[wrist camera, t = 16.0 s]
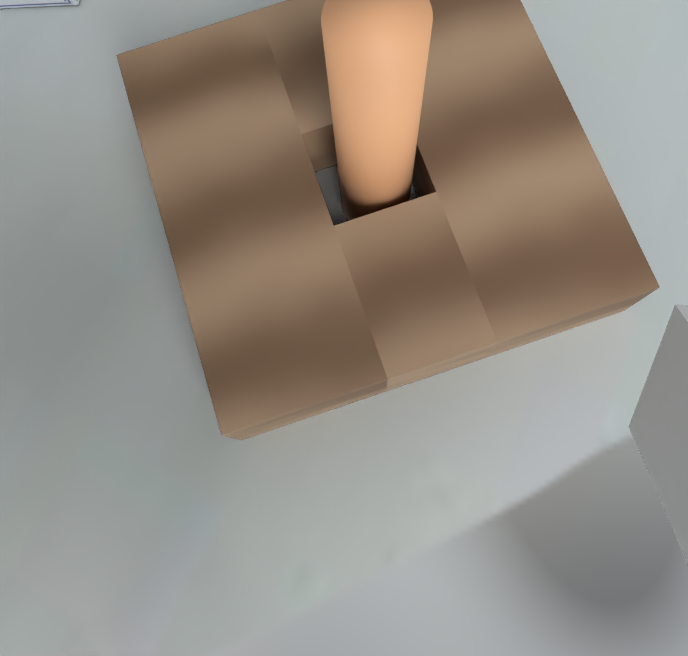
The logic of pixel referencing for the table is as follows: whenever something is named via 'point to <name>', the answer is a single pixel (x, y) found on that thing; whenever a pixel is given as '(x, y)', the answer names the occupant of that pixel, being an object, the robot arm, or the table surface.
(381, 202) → the peg
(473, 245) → the hole block
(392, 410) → the table surface
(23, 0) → the medicine box
